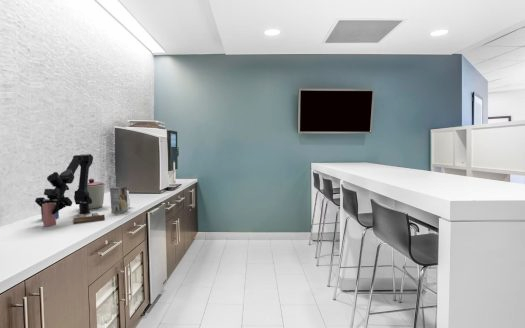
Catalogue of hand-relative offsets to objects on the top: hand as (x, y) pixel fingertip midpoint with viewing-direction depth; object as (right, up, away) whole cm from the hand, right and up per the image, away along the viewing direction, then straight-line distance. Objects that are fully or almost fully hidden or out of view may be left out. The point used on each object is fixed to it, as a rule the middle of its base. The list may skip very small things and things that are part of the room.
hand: (47, 214), depth 185 cm
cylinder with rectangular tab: (+20, -4, +53) cm, 57 cm away
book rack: (+16, -6, +13) cm, 21 cm away
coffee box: (+24, -4, +38) cm, 45 cm away
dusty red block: (0, -7, +2) cm, 7 cm away
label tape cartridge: (-12, -6, +22) cm, 26 cm away
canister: (-3, -4, +56) cm, 57 cm away
